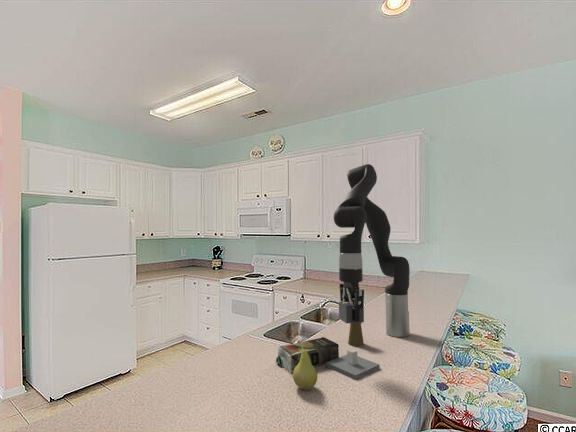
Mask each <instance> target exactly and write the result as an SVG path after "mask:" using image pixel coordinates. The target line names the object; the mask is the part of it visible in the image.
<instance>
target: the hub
mask: <svg viewBox="0 0 576 432" xmlns="http://www.w3.org/2000/svg"><path fill="white" fill-rule="evenodd" d="M325 366H326V367H327V368H330V369H331V370H334V371H336V372H337V373H340V374H343V375H345V376H347V377H349V378H351V379H353V380H358V379H359V378H362V377H364V376H366V375H369V374H371V373H373V372H375V371H377V370H380V364H379V363H376V362H374V361H371V360H368V359H366V358H364V357H361V356H358V350H356V349H353V348H351V349H348V350H347V354H345V355H342V356H340V357H339V358H336V359H334V360H331V361H329V362H326V364H325Z"/></svg>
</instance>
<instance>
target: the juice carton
mask: <svg viewBox="0 0 576 432" xmlns="http://www.w3.org/2000/svg"><path fill="white" fill-rule="evenodd" d="M299 342H300V343H301V345H302V347H303V349H305V350H306V351H307V353H308V356H309V358H310V361H311V364H312V366H313V367H314V366H315V367H318V366H323V365H326V362H329V361H331V360H334V359H336V358H339V356H340V353H339V351H340V350H339V346H340V345H339V343H337V342H335V341H334V340H331V339H329V338H327V337H324V336H321V337H319V338H314V339H308V340H304V341H299ZM301 354H302V348H301V346H300V345H299V343H298V342H295V343H290V344H285V345H281V346H280V345H279V346H277V357H276V359H275V363H277V364H279V366H281V367H282V368H284V369H285V370H287V371H288V372H289V373H293V371H294V369H295V367H296V366H297V365H298V363H299V362H300V358H301ZM315 367H314V368H315Z"/></svg>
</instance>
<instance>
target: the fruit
mask: <svg viewBox="0 0 576 432" xmlns="http://www.w3.org/2000/svg"><path fill="white" fill-rule="evenodd" d="M300 342H301V341H299V340H297V342H296V343H299V345H300V346H301V348H302V354H301V358H300V362H299V363H298V365H297V366H296V367H295V369H294V371H293V372H292V380H293V382H294V384H295V386H297V387H298V388H299V389H301V390H303V391H308V390H311V389H313V388H314V387H315V386H316V384H317V381H318V373H317V371H316V369H315V367H313V366H312V364H311V361H310V358H309V356H308V353H307V351H306V350H305V349H303V347H302V345H301V343H300Z"/></svg>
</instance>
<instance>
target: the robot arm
mask: <svg viewBox="0 0 576 432" xmlns="http://www.w3.org/2000/svg"><path fill="white" fill-rule="evenodd" d="M346 177H347V182H348V184H349V187H350V190H349V191H348V193H347V194H346V197H345V200H343V202H341V203H340V204H339V205H338V206H337V207H336V209H335V211H334V213H333V222H334V224H335V225H336V227H338V228H341V229H344V228H345V229H346V228H347V229H348V228H353V231H352V232H351V233H349V234H344V235H341V236H339V237H340V238H339V258H338V267H339V269H338V271H339V272H338V276H339V281H340V282H343V283H339V285H338V286H339V299H340V302H343V301H344V302H346V301H349V302H350V303H351V305H352V321H354V322H358V321H359V320H360V314H359V310H360V309H363V305H364V303H365V301H364V300H365V290H364V289H360V285H359V284H360V283H362V282H363V279H364V278H363V257H362V238H363V233H364V228H365V226H366V228H367V230H368V233H369V236H370V238H371V242H372V243H373V246H374V250H375V252H376V256H377V257H376V258H377V260H378V265H379V268H380V270H381V272H382V274H383V275H384V276H386V277H389V278H393V281H392V282H393V283H391V284H389V285H386V286H385V288H384V289H385V290H384V292H385V332H386V334H387V335H388V336H392V337H395V338H406V337H409V336H410V311H409V295H408V294H409V288H410V272H411V271H410V263H409V260H408V259H407V258H406V257H404V256H398V255H397V256H395V255H394V256H393V255H392V253H391V251H390V246H389V239H390V235H391V228H392V227H391V224H390V221H389V219H388V215H387V214H386V212H385V211H384V210H383V209H382V208H381V207H380V206H378V205H377V204H376V203H374V202H373V201H372V200H370V199H369V198H368V196H369V195H370V193H371V191H372V190H373V189H374V187H375V185H376V183H377V179H378V175H377V172H376V169H375V167H374V166H373V165H372V164H369V163H365V164H363V165H360V166H357V167H355V168H351V169H349V170H347V172H346ZM354 302H355V305H354Z"/></svg>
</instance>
